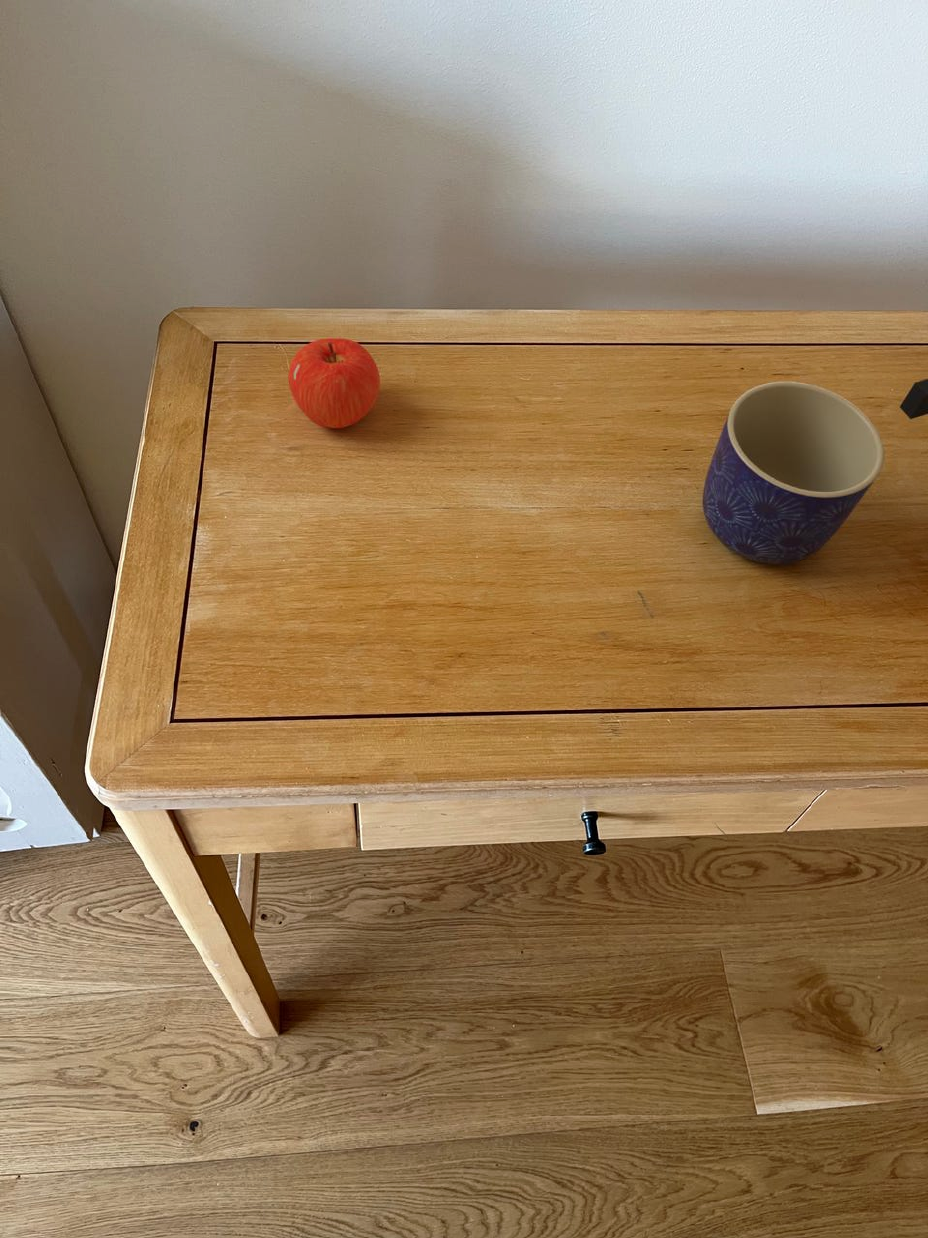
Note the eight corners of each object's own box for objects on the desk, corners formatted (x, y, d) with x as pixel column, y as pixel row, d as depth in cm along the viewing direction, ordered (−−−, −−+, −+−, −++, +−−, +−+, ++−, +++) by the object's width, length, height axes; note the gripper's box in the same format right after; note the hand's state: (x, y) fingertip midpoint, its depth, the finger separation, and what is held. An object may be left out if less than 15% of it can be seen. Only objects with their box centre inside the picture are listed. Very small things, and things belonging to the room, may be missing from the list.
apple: (306, 452, 83) (299, 385, 76) (283, 391, 87) (274, 321, 80) (391, 433, 85) (392, 365, 78) (364, 373, 89) (362, 305, 82)
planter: (665, 533, 81) (701, 445, 72) (726, 449, 87) (766, 359, 77) (796, 604, 77) (851, 522, 68) (849, 512, 83) (906, 425, 74)
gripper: (1149, 419, 82) (940, 489, 76) (1048, 324, 88) (846, 382, 82) (1213, 353, 75) (990, 423, 69) (1099, 256, 82) (884, 312, 75)
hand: (912, 400), depth 76 cm, fingers closed
